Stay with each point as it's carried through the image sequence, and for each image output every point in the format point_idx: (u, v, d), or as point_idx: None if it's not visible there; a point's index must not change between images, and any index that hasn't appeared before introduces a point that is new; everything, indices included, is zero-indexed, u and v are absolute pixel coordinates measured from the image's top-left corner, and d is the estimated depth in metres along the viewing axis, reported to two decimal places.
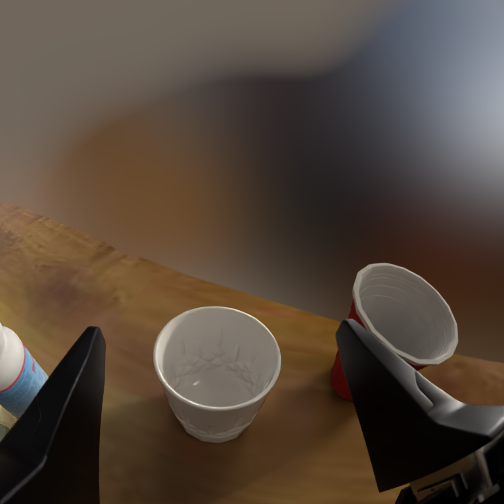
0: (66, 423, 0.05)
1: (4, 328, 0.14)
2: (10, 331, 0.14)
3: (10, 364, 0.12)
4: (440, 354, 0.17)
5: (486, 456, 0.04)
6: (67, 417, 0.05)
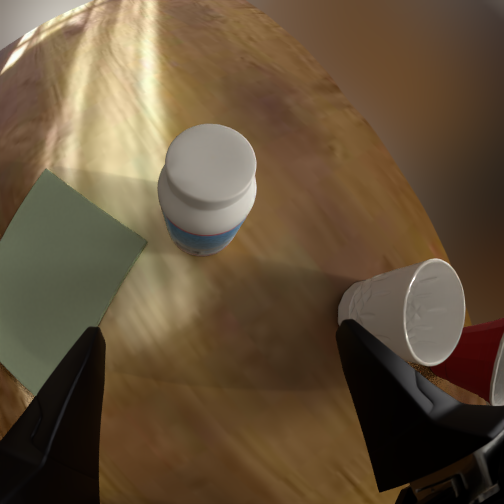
0: (66, 423, 0.05)
1: None
2: None
3: (241, 212, 0.16)
4: (495, 401, 0.17)
5: (487, 456, 0.04)
6: (67, 417, 0.05)
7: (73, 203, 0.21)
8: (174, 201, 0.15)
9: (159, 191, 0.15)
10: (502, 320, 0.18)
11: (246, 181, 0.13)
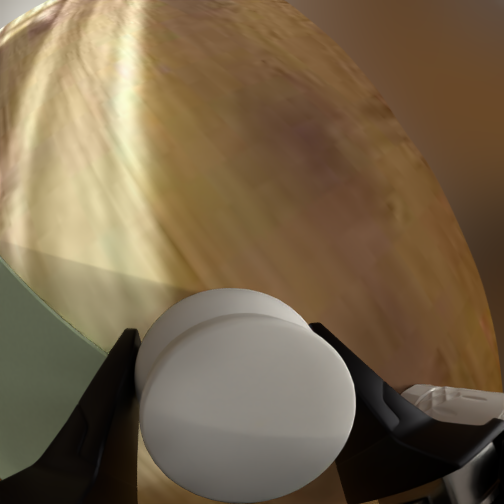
0: (113, 431, 0.05)
1: None
2: None
3: None
4: None
5: (459, 480, 0.03)
6: (114, 424, 0.05)
7: (26, 308, 0.13)
8: None
9: None
10: None
11: (333, 455, 0.05)
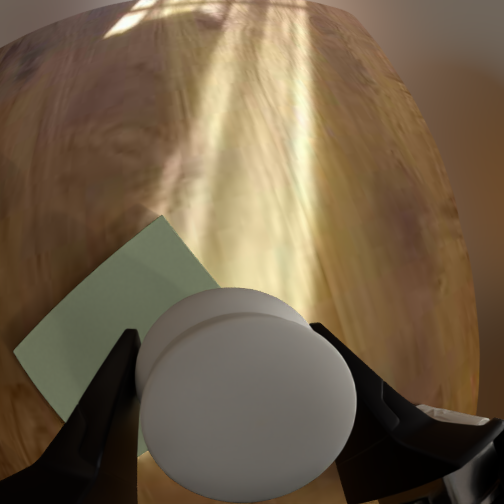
0: (113, 431, 0.05)
1: None
2: None
3: None
4: None
5: (459, 480, 0.03)
6: (114, 424, 0.05)
7: (197, 281, 0.21)
8: None
9: None
10: None
11: (333, 455, 0.05)
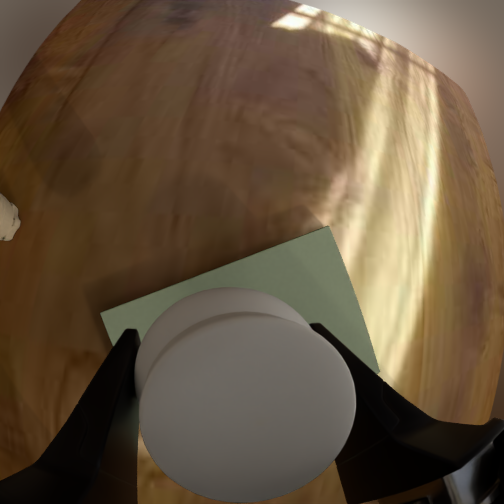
0: (113, 431, 0.05)
1: None
2: None
3: None
4: None
5: (459, 480, 0.03)
6: (114, 424, 0.05)
7: (344, 296, 0.21)
8: None
9: None
10: None
11: (332, 454, 0.05)
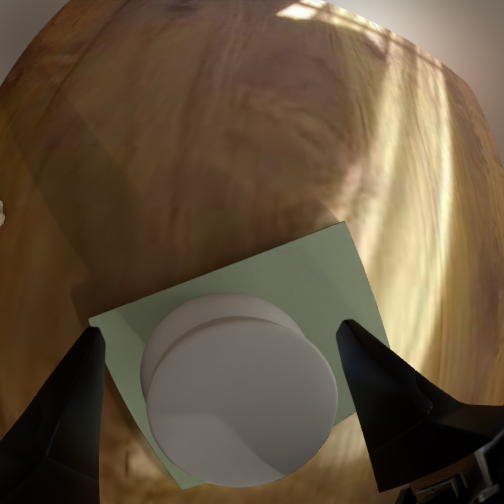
0: (66, 423, 0.05)
1: None
2: None
3: None
4: None
5: (487, 456, 0.04)
6: (67, 417, 0.05)
7: (363, 299, 0.19)
8: None
9: (146, 401, 0.07)
10: None
11: (318, 444, 0.06)
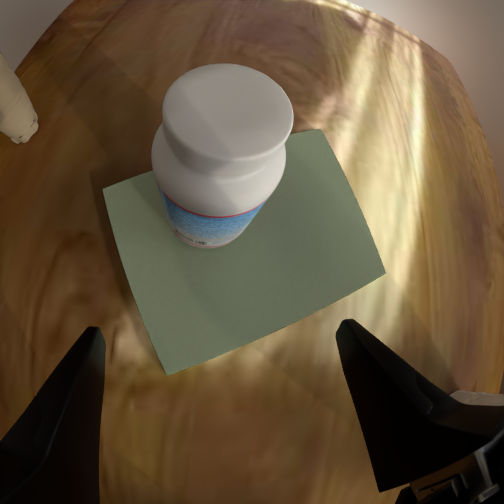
0: (66, 423, 0.05)
1: None
2: None
3: (267, 185, 0.11)
4: None
5: (487, 456, 0.04)
6: (67, 417, 0.05)
7: (341, 187, 0.22)
8: (174, 167, 0.10)
9: (153, 155, 0.10)
10: None
11: (281, 134, 0.09)
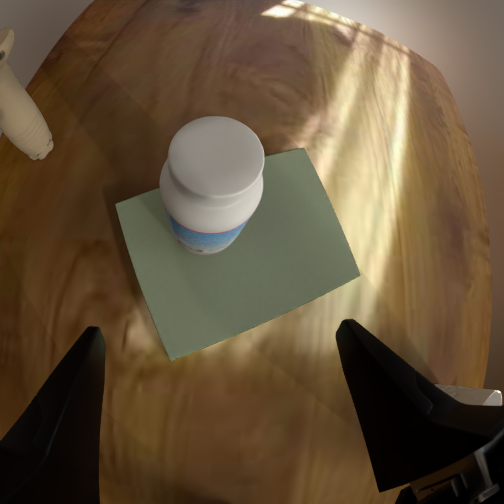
0: (66, 423, 0.05)
1: None
2: None
3: (247, 209, 0.15)
4: None
5: (486, 456, 0.04)
6: (67, 417, 0.05)
7: (320, 201, 0.26)
8: (177, 197, 0.14)
9: (161, 186, 0.14)
10: None
11: (254, 176, 0.12)
